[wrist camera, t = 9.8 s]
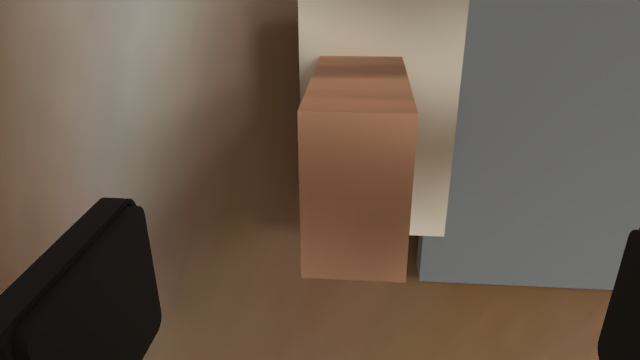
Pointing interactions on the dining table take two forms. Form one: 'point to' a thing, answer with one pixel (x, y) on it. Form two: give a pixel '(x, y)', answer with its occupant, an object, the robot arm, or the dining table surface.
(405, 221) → the stub
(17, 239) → the dining table surface
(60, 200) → the dining table surface
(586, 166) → the holder
